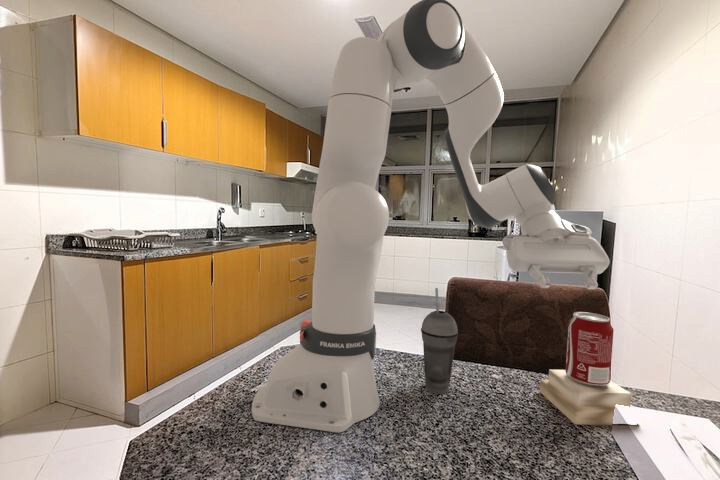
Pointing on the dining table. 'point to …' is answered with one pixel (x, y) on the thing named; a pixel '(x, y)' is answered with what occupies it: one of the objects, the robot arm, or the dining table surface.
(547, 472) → the dining table surface
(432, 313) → the beverage cup
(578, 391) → the cream stepped square block
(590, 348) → the soda can
